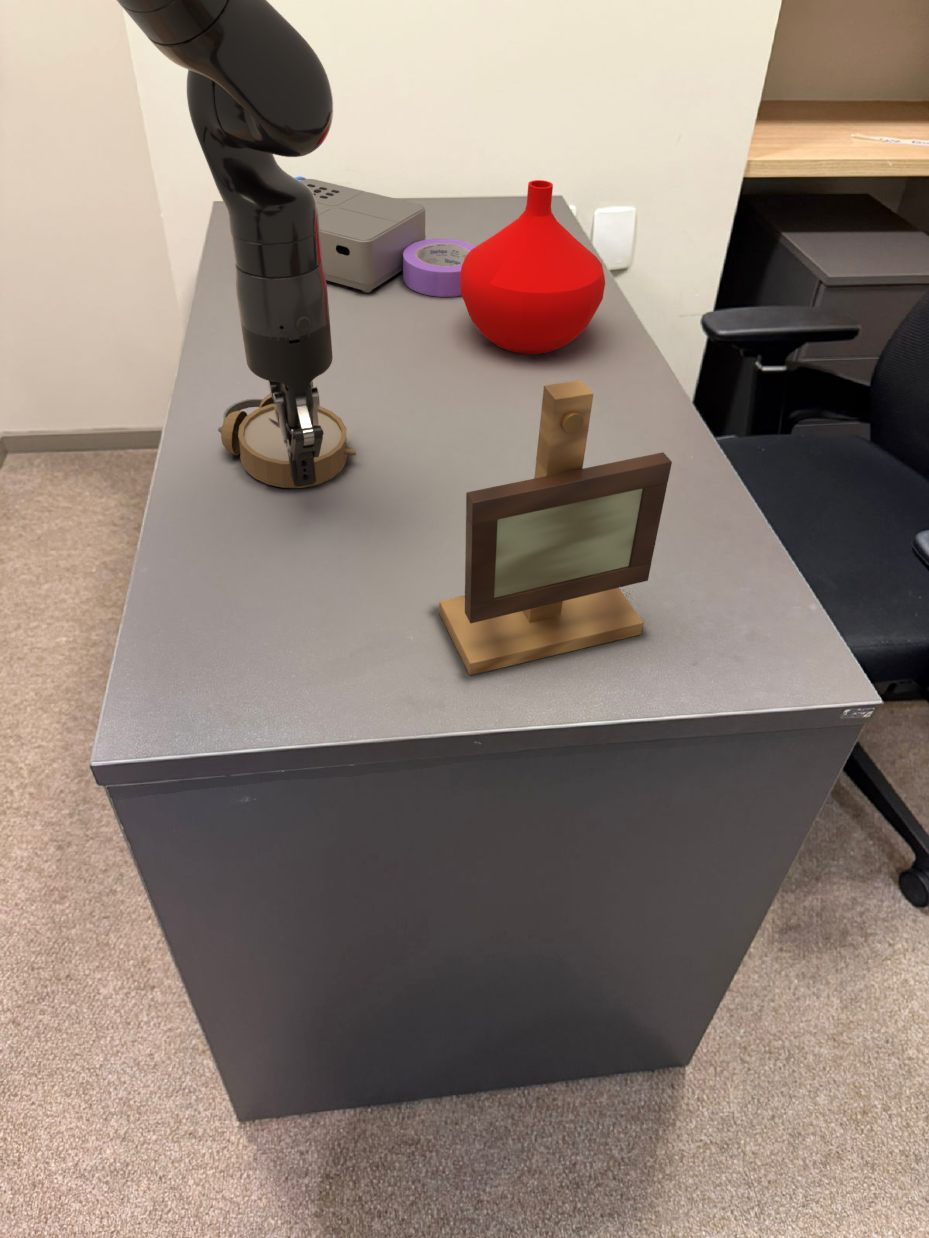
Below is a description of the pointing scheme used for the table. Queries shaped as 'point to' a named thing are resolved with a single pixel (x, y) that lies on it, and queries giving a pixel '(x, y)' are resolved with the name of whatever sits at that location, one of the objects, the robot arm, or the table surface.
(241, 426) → the alarm clock
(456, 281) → the tape roll
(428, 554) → the table surface
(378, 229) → the projector
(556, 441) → the stand
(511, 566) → the frame
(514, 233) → the vase
